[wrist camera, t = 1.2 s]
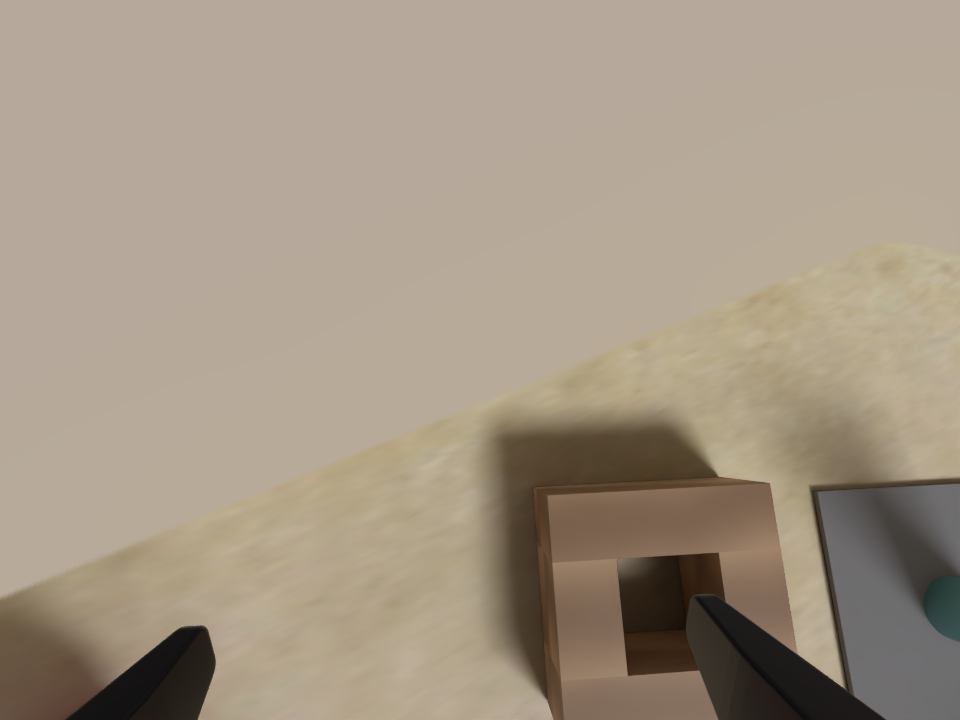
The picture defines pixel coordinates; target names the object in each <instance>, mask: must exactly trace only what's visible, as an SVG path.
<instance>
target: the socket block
mask: <svg viewBox="0 0 960 720" xmlns="http://www.w3.org/2000/svg"><path fill="white" fill-rule="evenodd" d="M533 492H534V506H535V521H536V536H537V550H538V565H539V580H540V595H541V609H542V624H543V639H544V653H545V668H546V683H547V697H548V704H549V707H550V710H551V713H552V716H553V719H554V720H718V718H717V715H716V712H715V710H714V707H713V705H712V702H711V700H710V697H709V694H708V692H707V689H706V687H705V684H704V681H703V679H702V676H701V674H700V671H699V668H698V666H697V663H696V661H695V658H694V655H693V653H692V650H691V648H690V645H689V642H688V639H687V635H686V629H680V630H666V631H652V632H637V633H623V622H622V612H621V602H620V592H619V582H618V571H617V561H616V559H622V558H638V557H654V556H670V555H678V558H679V566H680V575H681V583H682V591H683V599H684V607H685V616H686V623H687V616H688V610H689V603H690V599H691V597H692V596H693V595H696V594H714V595H716V596H718V597H720V598H721V599H722V600H724V601H725V602H726V603H728V604H729V605H731V606H732V607H733V608H735V609H736V610H737V611H739V612H740V613H741V614H743V615H744V616H746V617H747V618H748V619H750V620H751V621H752V622H754V623H755V624H756V625H758V626H759V627H761V628H762V629H763V630H765V631H766V632H767V633H769V634H770V635H772V636H773V637H774V638H776V639H777V640H778V641H780V642H781V643H782V644H784V645H785V646H787V647H788V648H789V649H791V650H792V651H793V652H795V653H796V654H797V648H796V642H795V636H794V629H793V623H792V617H791V611H790V605H789V598H788V592H787V586H786V580H785V574H784V567H783V561H782V555H781V549H780V543H779V537H778V530H777V524H776V518H775V512H774V506H773V499H772V493H771V487H770V483H764V482H756V481H748V480H740V479H732V478H724V477H709V478H691V479H672V480H654V481H635V482H617V483H599V484H580V485H562V486H543V487H533Z"/></svg>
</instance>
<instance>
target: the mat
mask: <svg viewBox="0 0 960 720" xmlns="http://www.w3.org/2000/svg"><path fill="white" fill-rule="evenodd" d="M813 493H814V499H815V504H816V510H817V516H818V521H819V527H820V532H821V538H822V544H823V549H824V555H825V560H826V566H827V572H828V577H829V583H830V588H831V594H832V600H833V605H834V611H835V617H836V622H837V628H838V633H839V639H840V645H841V650H842V656H843V661H844V667H845V673H846V678H847V684H848V689H849V692H850V693H851V694H852V695H854V696H855V697H856V698H858V699H859V700H860V701H862V702H863V703H865V704H866V705H867V706H869V707H870V708H871V709H873V710H874V711H876V712H877V713H878V714H880V715H881V716H882V717H884V718H885V719H886V720H960V642H958V641H955V640H953V639H950V638H948V637H945V636H944V635H942V634H940V633H939V632H938V631H937V630H936V629H935V628H934V627H933V626H932V624H931V623H930V621H929V619H928V618H927V615H926V612H925V607H924V596H925V592H926V590H927V588H928V586H929V585H930V583H931V582H932V581H934V580H935V579H937V578H939V577H942V576H953V577H957V578H960V483H950V484H933V485H915V486H897V487H880V488H862V489H844V490H827V491H813Z"/></svg>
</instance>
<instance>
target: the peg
mask: <svg viewBox="0 0 960 720" xmlns="http://www.w3.org/2000/svg"><path fill="white" fill-rule="evenodd" d="M924 607H925V612H926V615H927V618H928V619H929V621H930V623H931V624H932V626H933V627H934V628H935V629H936V630H937V631H938V632H939V633H940V634H942V635H944V636H945V637H948V638H950V639H953V640H955V641H958V642H960V578H957V577H953V576H942V577H939V578H937V579H935V580H934V581H932V582H931V583H930V585H929V586H928V588H927V590H926V592H925V596H924Z"/></svg>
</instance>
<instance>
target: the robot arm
mask: <svg viewBox="0 0 960 720" xmlns="http://www.w3.org/2000/svg"><path fill="white" fill-rule="evenodd" d="M686 635H687V639H688V642H689V645H690V648H691V650H692V653H693V655H694V658H695V661H696V663H697V666H698V668H699V671H700V674H701V676H702V679H703V681H704V684H705V687H706V689H707V692H708V694H709V697H710V700H711V702H712V705H713V707H714V710H715V712H716V715H717V718H718V720H886V719H885V718H884V717H882V716H881V715H880V714H878V713H877V712H876V711H874V710H873V709H871V708H870V707H869V706H867V705H866V704H865V703H863V702H862V701H860V700H859V699H858V698H856V697H855V696H854V695H852V694H851V693H850V692H848V691H847V690H845V689H844V688H843V687H841V686H840V685H839V684H837V683H836V682H834V681H833V680H832V679H830V678H829V677H828V676H826V675H825V674H824V673H822V672H821V671H819V670H818V669H817V668H815V667H814V666H813V665H811V664H810V663H808V662H807V661H806V660H804V659H803V658H802V657H800V656H799V655H798V654H796V653H795V652H793V651H792V650H791V649H789V648H788V647H787V646H785V645H784V644H782V643H781V642H780V641H778V640H777V639H776V638H774V637H773V636H772V635H770V634H769V633H767V632H766V631H765V630H763V629H762V628H761V627H759V626H758V625H756V624H755V623H754V622H752V621H751V620H750V619H748V618H747V617H746V616H744V615H743V614H741V613H740V612H739V611H737V610H736V609H735V608H733V607H732V606H731V605H729V604H728V603H726V602H725V601H724V600H722V599H721V598H720V597H718V596H716V595H714V594H696V595H693V596H692V597H691V599H690V603H689V610H688V616H687V623H686ZM215 664H216V660H215V654H214V651H213V647H212V643H211V639H210V636H209V632H208V629H207V628H206V627H205V626H202V625H201V626H186V627H181V628H179V629H178V630H176V631H175V632H174V633H172V634H171V635H170V636H169V637H167V638H166V639H165V640H164V641H162V642H161V643H160V644H159V645H157V646H156V647H155V648H154V649H152V650H151V651H150V652H149V653H147V654H146V655H145V656H144V657H142V658H141V659H140V660H139V661H138V662H136V663H135V664H134V665H133V666H131V667H130V668H129V669H128V670H126V671H125V672H124V673H123V674H121V675H120V676H119V677H118V678H116V679H115V680H114V681H113V682H111V683H110V684H109V685H108V686H106V687H105V688H104V689H103V690H102V691H100V692H99V693H98V694H97V695H95V696H94V697H93V698H92V699H90V700H89V701H88V702H87V703H85V704H84V705H83V706H82V707H80V708H79V709H78V710H77V711H75V712H74V713H73V714H72V715H70V716H69V717H68V718H67V719H66V720H198V717H199V714H200V711H201V709H202V706H203V703H204V700H205V697H206V694H207V692H208V689H209V686H210V683H211V680H212V677H213V674H214V671H215Z"/></svg>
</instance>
